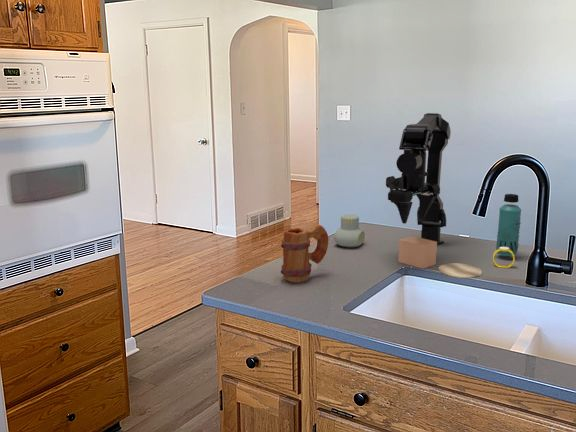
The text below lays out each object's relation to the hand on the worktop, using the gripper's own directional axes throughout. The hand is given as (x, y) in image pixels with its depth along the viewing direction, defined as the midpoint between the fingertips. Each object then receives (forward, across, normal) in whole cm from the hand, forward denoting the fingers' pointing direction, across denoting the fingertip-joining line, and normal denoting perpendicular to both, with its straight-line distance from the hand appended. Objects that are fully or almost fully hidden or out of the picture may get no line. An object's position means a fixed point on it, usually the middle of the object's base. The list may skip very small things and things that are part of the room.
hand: (413, 220), depth 172 cm
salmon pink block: (+13, -1, +2) cm, 13 cm away
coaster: (+13, -3, +15) cm, 20 cm away
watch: (+13, -16, +21) cm, 30 cm away
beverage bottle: (+13, -25, +18) cm, 33 cm away
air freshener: (+13, -1, -25) cm, 29 cm away
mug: (+13, +34, -12) cm, 38 cm away
